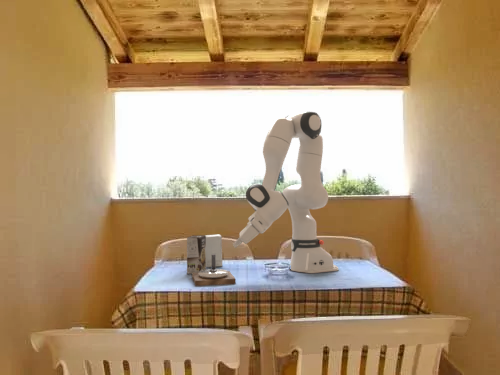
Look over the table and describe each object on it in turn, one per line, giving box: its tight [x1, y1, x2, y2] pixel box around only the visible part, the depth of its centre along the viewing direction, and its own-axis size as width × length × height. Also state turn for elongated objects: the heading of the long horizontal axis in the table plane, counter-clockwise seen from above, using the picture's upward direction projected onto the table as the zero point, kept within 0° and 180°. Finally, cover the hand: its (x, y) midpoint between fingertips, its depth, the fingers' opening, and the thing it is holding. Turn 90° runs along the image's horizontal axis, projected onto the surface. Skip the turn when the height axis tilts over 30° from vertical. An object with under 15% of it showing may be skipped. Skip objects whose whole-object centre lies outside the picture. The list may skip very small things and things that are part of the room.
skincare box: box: [203, 233, 223, 268], centre depth 216 cm, size 8×6×15 cm
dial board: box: [191, 270, 237, 287], centre depth 186 cm, size 16×15×2 cm
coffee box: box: [186, 234, 207, 275], centre depth 202 cm, size 9×6×16 cm
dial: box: [199, 254, 229, 279], centre depth 185 cm, size 12×12×8 cm
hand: (234, 246), depth 188 cm, fingers closed
